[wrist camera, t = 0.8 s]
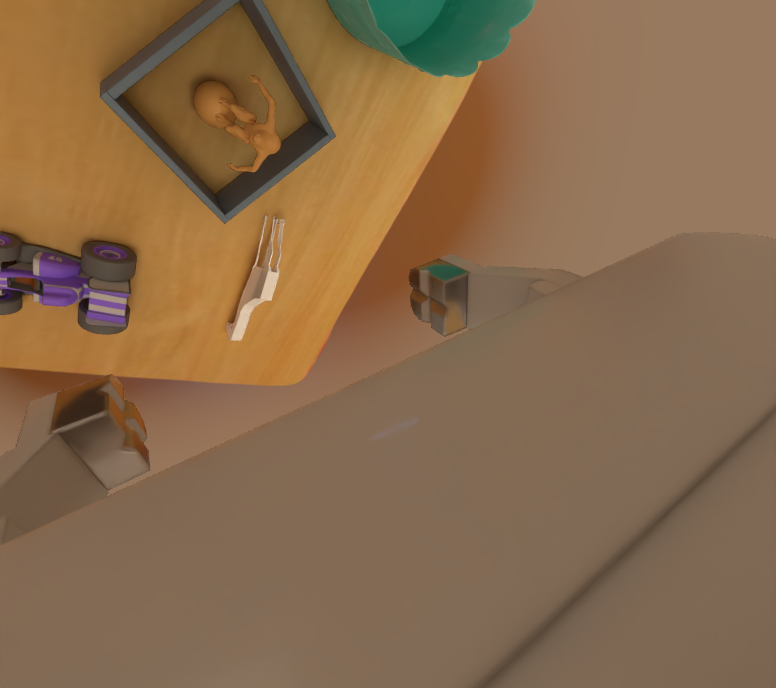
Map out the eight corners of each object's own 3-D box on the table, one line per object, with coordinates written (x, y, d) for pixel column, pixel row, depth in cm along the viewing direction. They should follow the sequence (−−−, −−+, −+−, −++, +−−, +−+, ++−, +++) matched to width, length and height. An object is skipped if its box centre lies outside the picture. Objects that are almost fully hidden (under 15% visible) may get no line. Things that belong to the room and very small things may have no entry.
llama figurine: (246, 213, 54) (222, 336, 56) (278, 215, 45) (248, 359, 48) (258, 217, 55) (235, 337, 58) (292, 220, 47) (262, 360, 49)
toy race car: (-61, 211, 35) (-83, 243, 31) (135, 245, 44) (139, 274, 40) (-50, 299, 39) (-68, 337, 35) (127, 313, 48) (129, 345, 44)
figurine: (200, 44, 36) (226, 63, 28) (262, 76, 40) (299, 101, 32) (183, 134, 40) (202, 173, 32) (241, 156, 44) (271, 195, 36)
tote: (233, -24, 34) (249, -23, 31) (317, 122, 45) (336, 136, 41) (99, 82, 34) (99, 96, 31) (214, 202, 45) (224, 224, 41)
